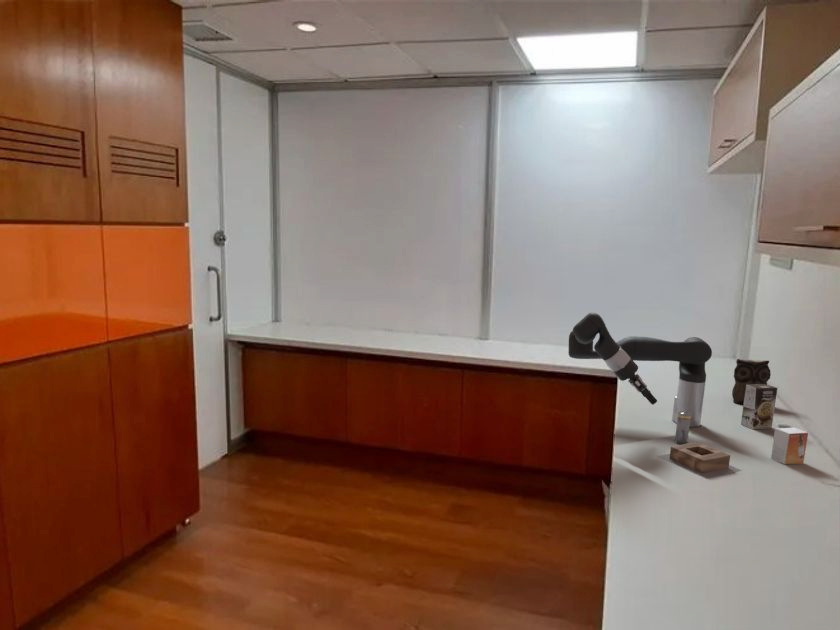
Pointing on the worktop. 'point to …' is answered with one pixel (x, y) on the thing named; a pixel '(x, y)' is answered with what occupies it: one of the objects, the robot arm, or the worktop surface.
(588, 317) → the robot arm
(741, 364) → the owl
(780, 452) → the small box
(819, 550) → the worktop surface
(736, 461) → the worktop surface
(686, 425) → the gold-rimmed metal cylinder
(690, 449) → the socket block
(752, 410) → the coffee box
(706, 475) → the base
